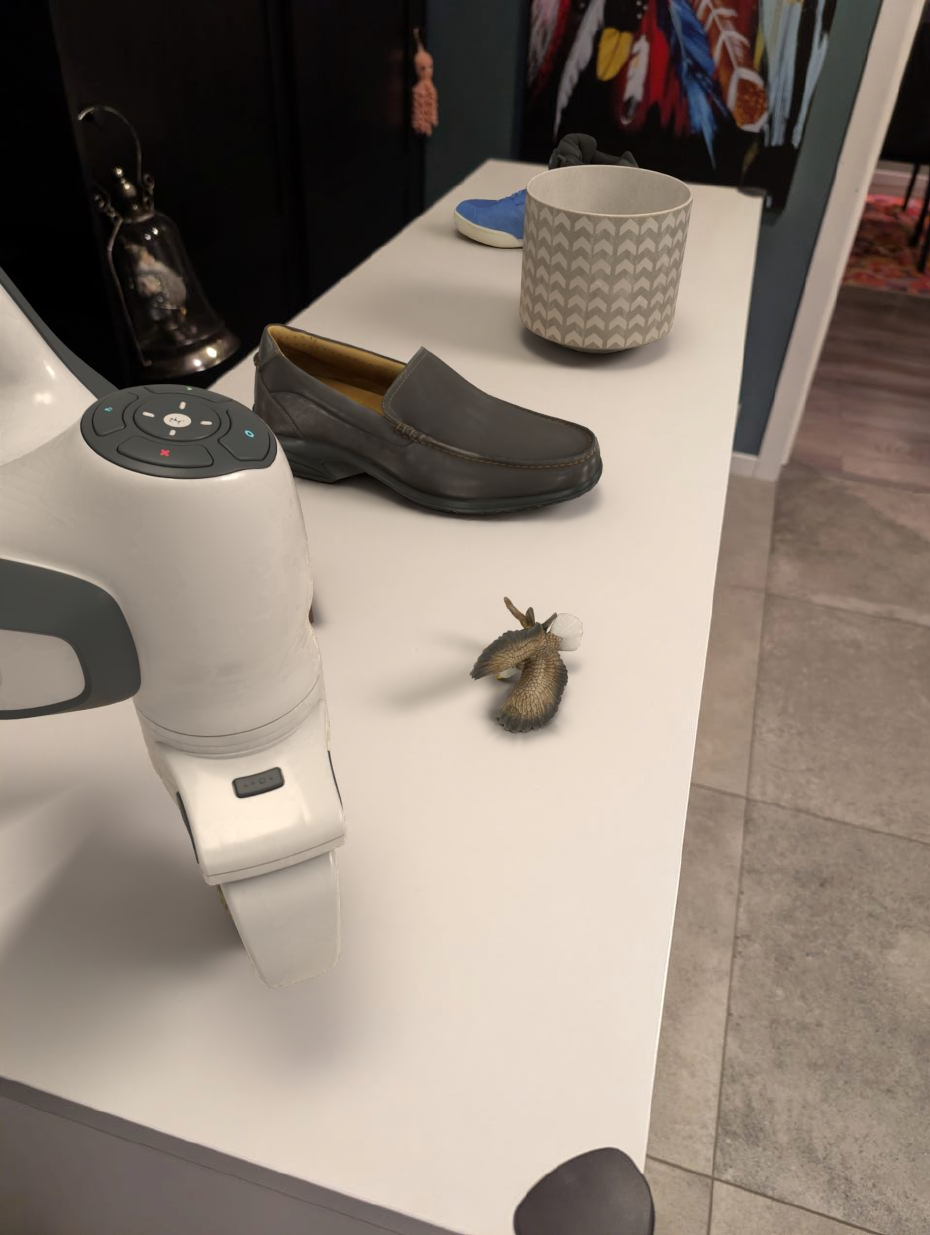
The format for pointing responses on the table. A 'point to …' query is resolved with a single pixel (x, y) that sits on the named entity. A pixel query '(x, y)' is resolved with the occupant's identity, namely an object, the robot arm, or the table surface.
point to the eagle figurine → (531, 666)
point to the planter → (603, 255)
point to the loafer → (414, 428)
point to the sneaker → (506, 216)
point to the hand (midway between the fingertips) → (269, 878)
